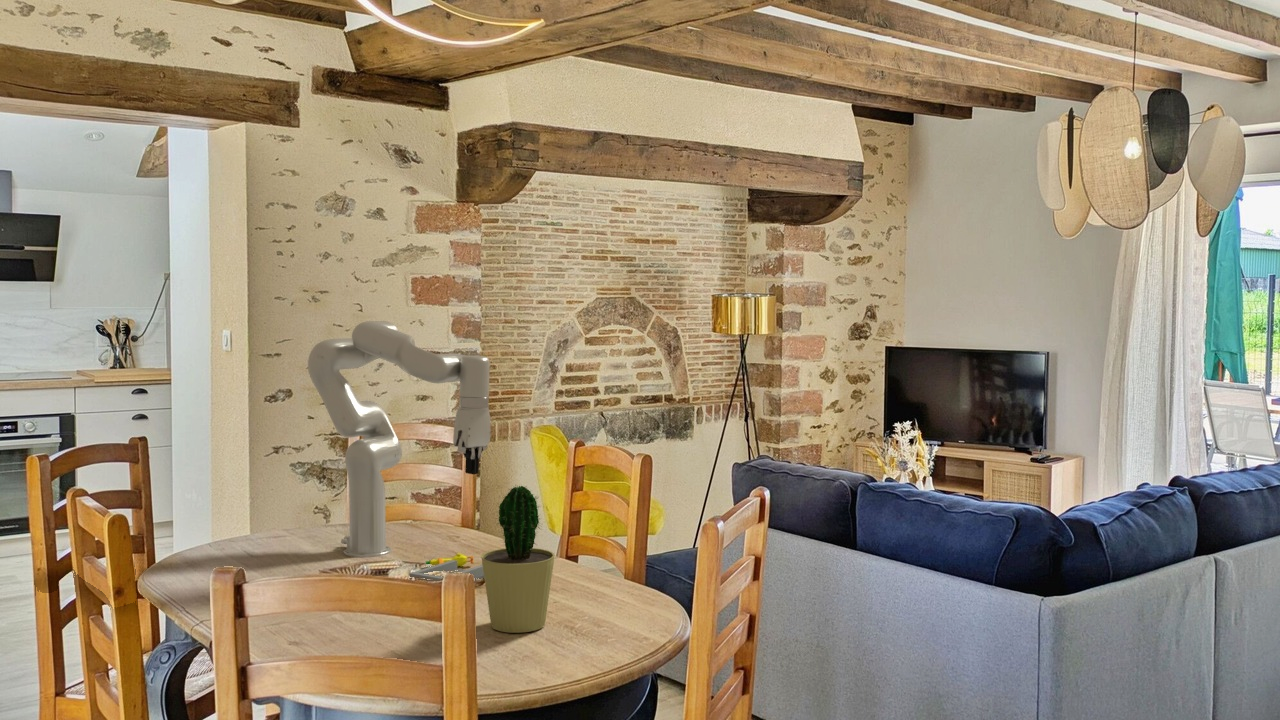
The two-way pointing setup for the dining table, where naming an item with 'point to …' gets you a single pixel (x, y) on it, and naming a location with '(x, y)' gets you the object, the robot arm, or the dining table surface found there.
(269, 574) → the dining table surface
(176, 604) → the dining table surface
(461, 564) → the toy figure
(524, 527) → the potted cactus
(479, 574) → the u rest
